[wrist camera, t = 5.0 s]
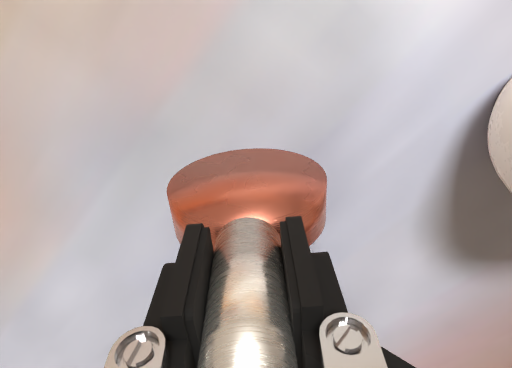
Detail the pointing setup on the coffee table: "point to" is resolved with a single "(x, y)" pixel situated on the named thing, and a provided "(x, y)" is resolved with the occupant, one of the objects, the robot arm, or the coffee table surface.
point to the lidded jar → (502, 135)
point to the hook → (248, 247)
